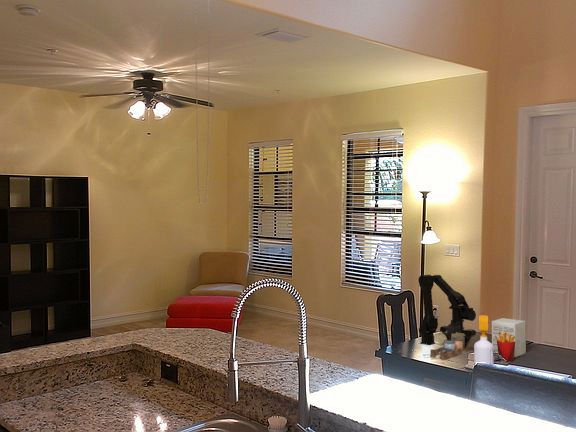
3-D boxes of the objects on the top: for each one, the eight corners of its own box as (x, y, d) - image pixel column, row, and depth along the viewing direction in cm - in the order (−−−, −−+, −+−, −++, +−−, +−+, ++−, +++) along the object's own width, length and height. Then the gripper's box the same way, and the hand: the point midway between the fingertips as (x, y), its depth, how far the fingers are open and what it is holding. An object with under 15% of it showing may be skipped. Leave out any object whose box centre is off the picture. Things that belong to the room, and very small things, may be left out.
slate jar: (442, 354, 310) (441, 340, 310) (447, 352, 314) (447, 339, 314) (451, 356, 306) (451, 342, 306) (457, 354, 310) (457, 340, 310)
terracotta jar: (450, 351, 316) (449, 338, 316) (455, 349, 320) (455, 336, 320) (459, 353, 312) (459, 339, 312) (465, 351, 316) (464, 338, 316)
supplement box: (502, 349, 320) (502, 317, 320) (526, 353, 311) (526, 320, 311) (491, 353, 311) (491, 320, 311) (515, 357, 302) (515, 324, 301)
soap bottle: (493, 364, 289) (493, 314, 289) (493, 368, 280) (493, 318, 280) (474, 362, 292) (474, 314, 292) (474, 367, 283) (473, 317, 283)
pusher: (441, 353, 310) (441, 347, 310) (452, 355, 305) (452, 349, 305) (434, 356, 305) (434, 349, 305) (445, 358, 300) (445, 351, 300)
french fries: (505, 358, 300) (505, 329, 300) (518, 361, 293) (518, 332, 293) (493, 360, 296) (493, 331, 296) (506, 364, 289) (506, 334, 289)
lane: (446, 351, 316) (446, 344, 316) (461, 354, 310) (461, 346, 310) (429, 357, 304) (429, 349, 304) (445, 360, 298) (445, 352, 298)
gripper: (434, 317, 317) (434, 346, 317) (466, 322, 304) (466, 352, 304) (444, 315, 325) (445, 343, 325) (476, 319, 312) (476, 348, 312)
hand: (457, 346), depth 316 cm, fingers open, 9 cm apart
